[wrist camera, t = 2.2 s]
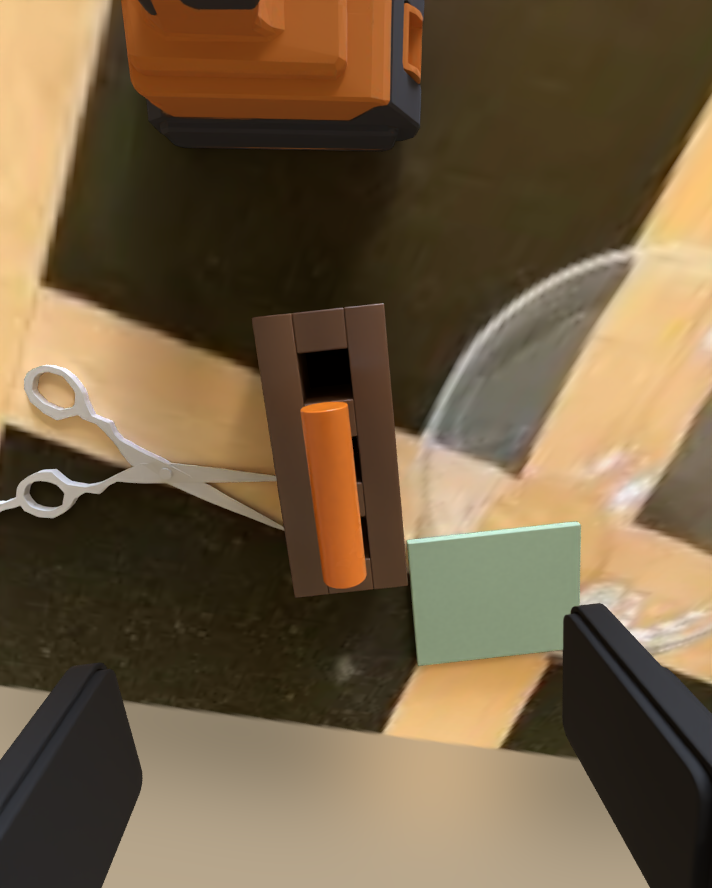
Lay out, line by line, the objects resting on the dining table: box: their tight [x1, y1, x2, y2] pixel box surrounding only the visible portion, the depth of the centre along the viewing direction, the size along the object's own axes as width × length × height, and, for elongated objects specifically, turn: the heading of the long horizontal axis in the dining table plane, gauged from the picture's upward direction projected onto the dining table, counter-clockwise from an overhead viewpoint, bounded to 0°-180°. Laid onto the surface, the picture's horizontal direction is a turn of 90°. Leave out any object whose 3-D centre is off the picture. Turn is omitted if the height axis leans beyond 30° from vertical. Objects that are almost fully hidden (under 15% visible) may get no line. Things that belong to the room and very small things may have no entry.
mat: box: [407, 522, 581, 666], centre depth 35 cm, size 12×10×1 cm
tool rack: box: [252, 303, 408, 598], centre depth 29 cm, size 7×16×6 cm, turn 6°
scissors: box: [0, 365, 284, 530], centre depth 32 cm, size 11×1×20 cm
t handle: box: [300, 402, 367, 589], centre depth 26 cm, size 2×8×12 cm, turn 6°
